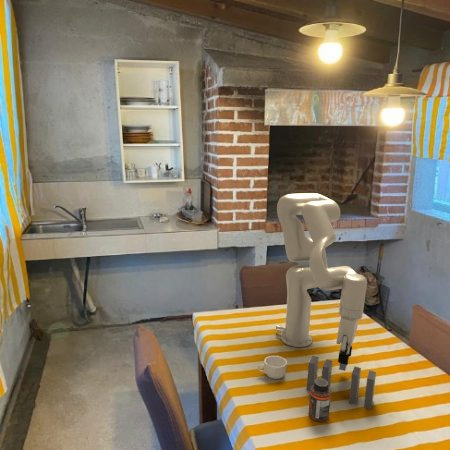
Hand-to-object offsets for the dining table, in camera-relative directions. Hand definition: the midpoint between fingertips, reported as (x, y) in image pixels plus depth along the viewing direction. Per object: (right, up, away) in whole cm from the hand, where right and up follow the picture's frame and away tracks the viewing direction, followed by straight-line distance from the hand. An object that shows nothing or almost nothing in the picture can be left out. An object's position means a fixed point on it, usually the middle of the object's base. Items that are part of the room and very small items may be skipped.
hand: (344, 358), depth 139 cm
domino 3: (0, -3, +1) cm, 3 cm away
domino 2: (-8, -8, -6) cm, 13 cm away
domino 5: (+4, -10, -12) cm, 16 cm away
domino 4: (0, -9, -10) cm, 14 cm away
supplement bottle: (-13, -11, -18) cm, 25 cm away
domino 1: (-12, -8, -4) cm, 15 cm away
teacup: (-25, -7, +2) cm, 26 cm away
